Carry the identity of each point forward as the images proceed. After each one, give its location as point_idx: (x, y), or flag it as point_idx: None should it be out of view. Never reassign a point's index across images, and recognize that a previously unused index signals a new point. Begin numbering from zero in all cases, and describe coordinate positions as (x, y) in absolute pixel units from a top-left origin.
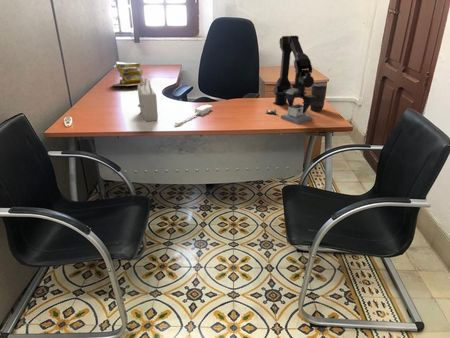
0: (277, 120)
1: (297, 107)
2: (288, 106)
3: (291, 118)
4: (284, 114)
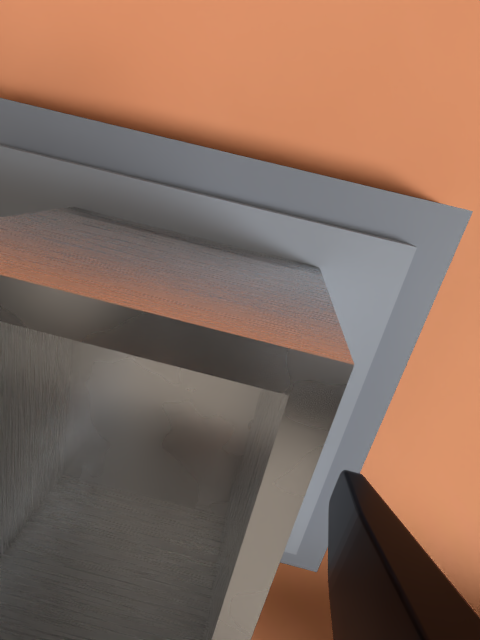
0: (459, 8)
1: (212, 591)
2: (350, 365)
3: (167, 169)
4: (420, 314)
